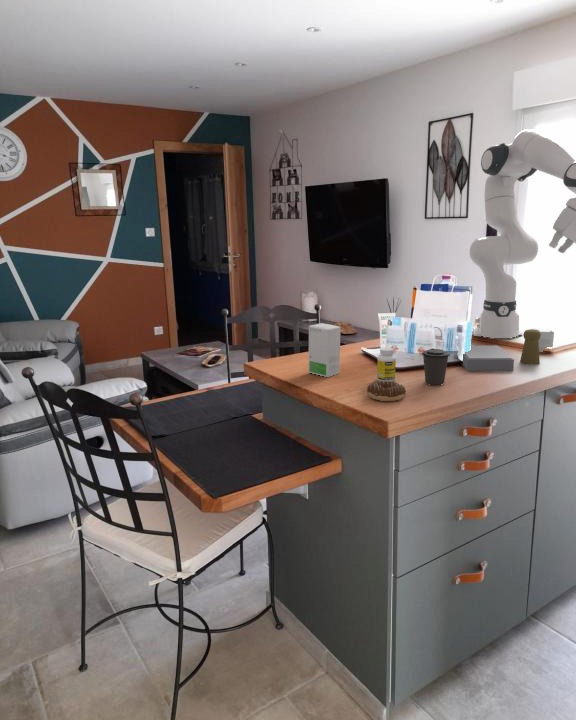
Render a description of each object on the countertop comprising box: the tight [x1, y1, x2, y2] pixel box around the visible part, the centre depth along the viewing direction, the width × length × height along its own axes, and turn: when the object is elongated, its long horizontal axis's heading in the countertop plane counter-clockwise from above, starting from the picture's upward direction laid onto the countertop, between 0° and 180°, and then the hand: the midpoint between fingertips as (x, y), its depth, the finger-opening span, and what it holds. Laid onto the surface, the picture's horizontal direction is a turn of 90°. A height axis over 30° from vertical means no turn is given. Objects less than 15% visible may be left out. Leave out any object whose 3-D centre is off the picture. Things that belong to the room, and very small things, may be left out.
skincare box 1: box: [307, 323, 341, 378], centre depth 177 cm, size 8×7×16 cm
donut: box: [366, 380, 407, 402], centre depth 155 cm, size 11×11×4 cm
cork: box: [519, 328, 541, 366], centre depth 183 cm, size 6×6×11 cm
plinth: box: [462, 345, 515, 372], centre depth 185 cm, size 18×14×4 cm
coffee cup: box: [421, 348, 451, 386], centre depth 165 cm, size 8×8×10 cm
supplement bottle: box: [376, 346, 397, 382], centre depth 169 cm, size 5×5×10 cm
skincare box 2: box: [533, 328, 555, 353], centre depth 199 cm, size 6×6×7 cm
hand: (555, 249), depth 176 cm, fingers open, 8 cm apart
